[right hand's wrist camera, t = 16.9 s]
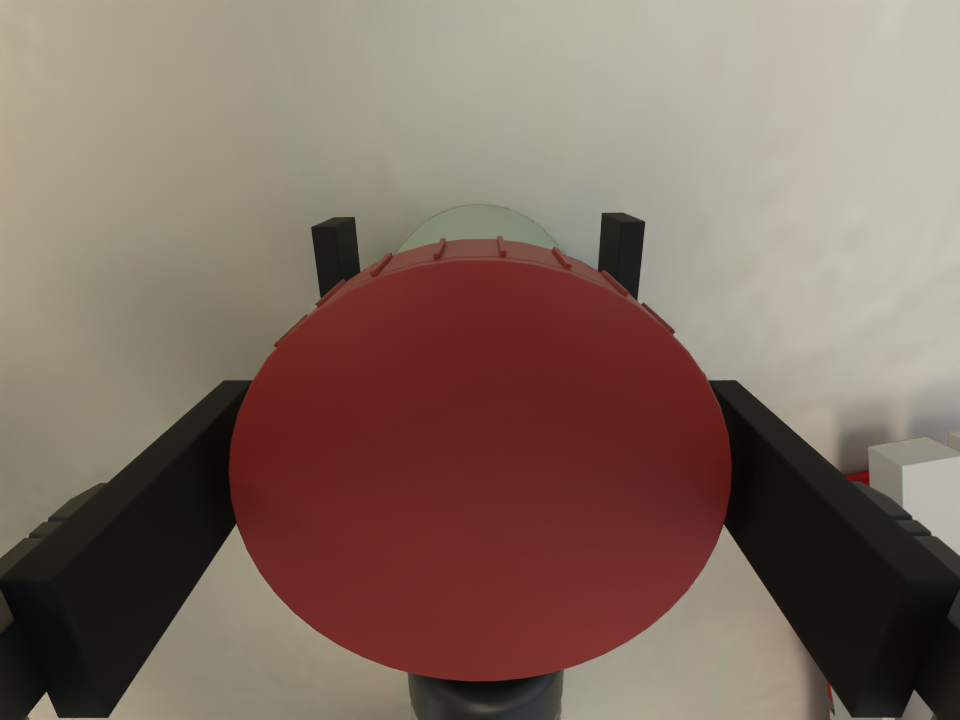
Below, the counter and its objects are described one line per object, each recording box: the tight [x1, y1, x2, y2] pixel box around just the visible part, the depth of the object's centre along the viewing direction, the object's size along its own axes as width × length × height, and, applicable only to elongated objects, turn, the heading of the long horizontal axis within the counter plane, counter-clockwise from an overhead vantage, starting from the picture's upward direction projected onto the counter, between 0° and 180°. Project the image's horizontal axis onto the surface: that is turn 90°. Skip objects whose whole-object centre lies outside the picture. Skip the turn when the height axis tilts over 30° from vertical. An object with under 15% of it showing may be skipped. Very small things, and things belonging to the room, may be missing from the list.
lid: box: [229, 236, 732, 681], centre depth 11 cm, size 10×10×2 cm
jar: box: [395, 204, 566, 255], centre depth 18 cm, size 9×9×16 cm
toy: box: [827, 431, 960, 720], centre depth 28 cm, size 12×13×30 cm
